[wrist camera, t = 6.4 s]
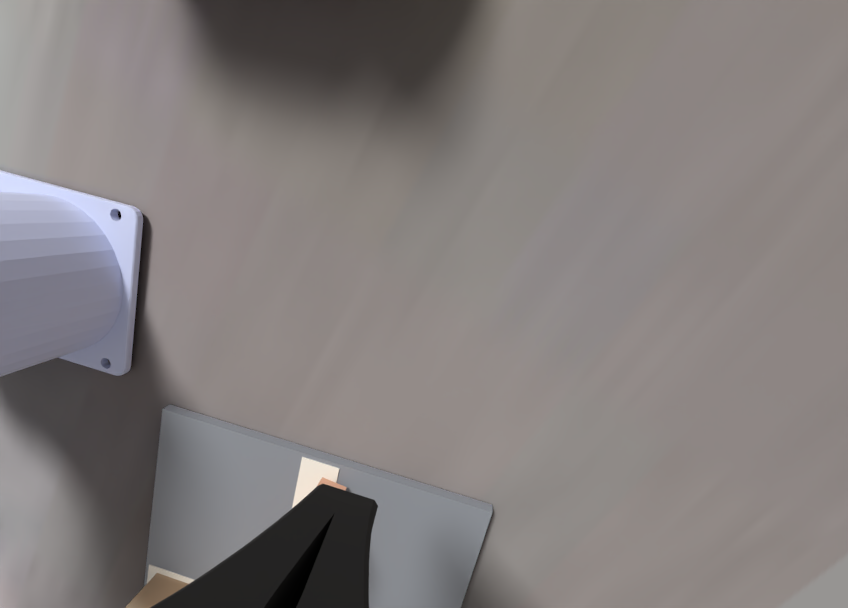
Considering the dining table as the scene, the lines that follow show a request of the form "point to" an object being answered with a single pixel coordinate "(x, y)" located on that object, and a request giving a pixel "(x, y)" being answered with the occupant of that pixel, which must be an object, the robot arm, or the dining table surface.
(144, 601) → the fence fixed
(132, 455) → the dining table surface
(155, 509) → the card
